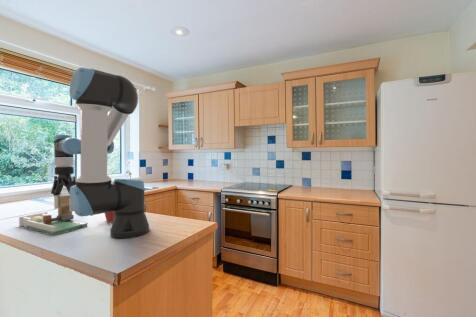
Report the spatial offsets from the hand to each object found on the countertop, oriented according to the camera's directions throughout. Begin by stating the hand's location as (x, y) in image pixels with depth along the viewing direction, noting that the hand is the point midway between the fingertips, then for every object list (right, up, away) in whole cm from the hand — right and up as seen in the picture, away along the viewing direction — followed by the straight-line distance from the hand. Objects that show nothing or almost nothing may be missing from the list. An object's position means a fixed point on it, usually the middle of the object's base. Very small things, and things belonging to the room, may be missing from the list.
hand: (65, 209), depth 117 cm
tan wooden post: (-2, -5, -3) cm, 6 cm away
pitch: (-2, -7, -6) cm, 10 cm away
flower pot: (+22, -7, +5) cm, 24 cm away
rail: (+3, -7, -2) cm, 8 cm away
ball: (-12, -5, -2) cm, 13 cm away
